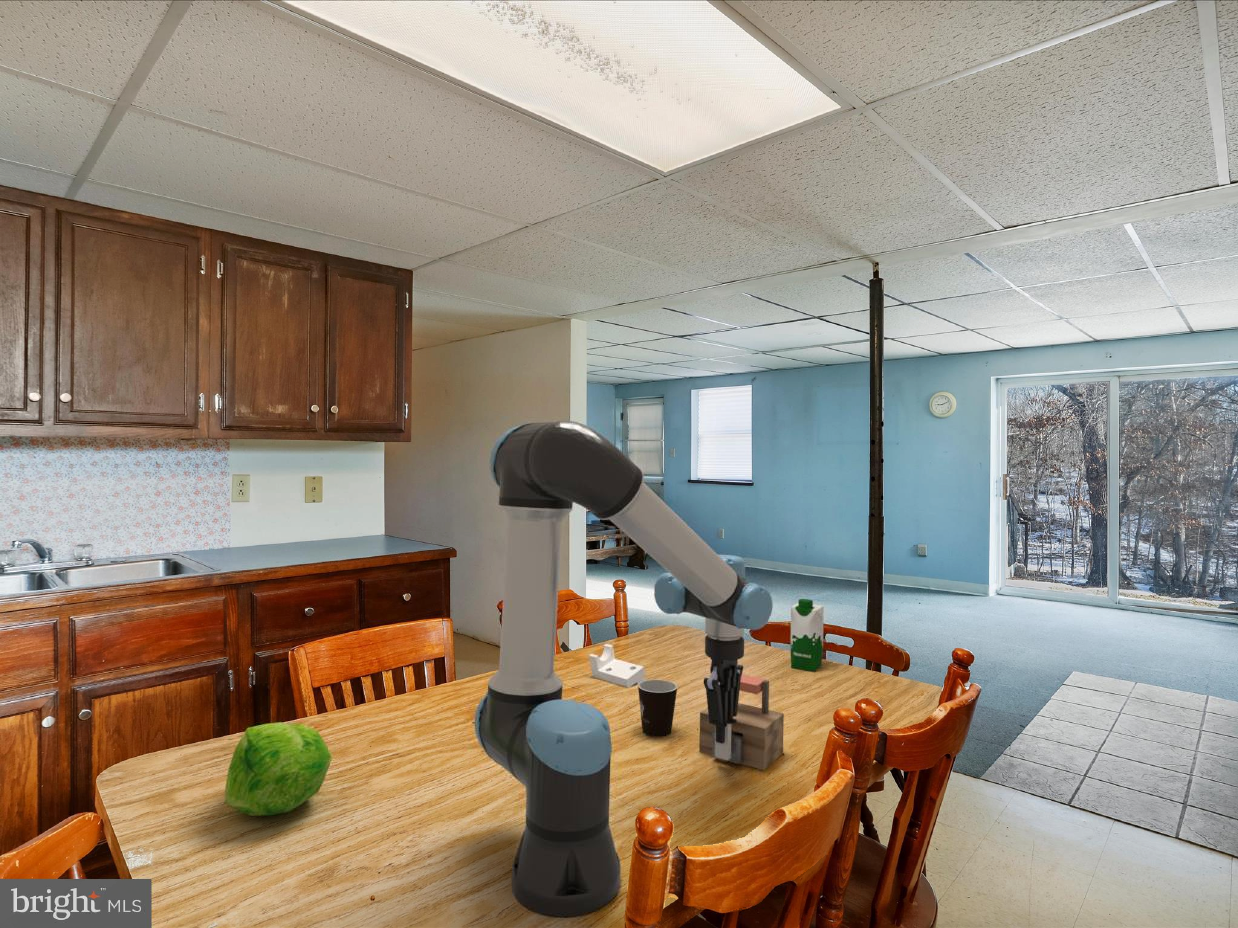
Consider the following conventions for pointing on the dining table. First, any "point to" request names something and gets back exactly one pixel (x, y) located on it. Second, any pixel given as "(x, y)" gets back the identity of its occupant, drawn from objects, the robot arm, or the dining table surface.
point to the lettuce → (276, 768)
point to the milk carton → (806, 635)
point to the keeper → (751, 684)
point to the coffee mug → (657, 706)
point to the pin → (733, 747)
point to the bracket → (615, 669)
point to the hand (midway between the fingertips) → (722, 757)
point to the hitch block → (751, 732)
